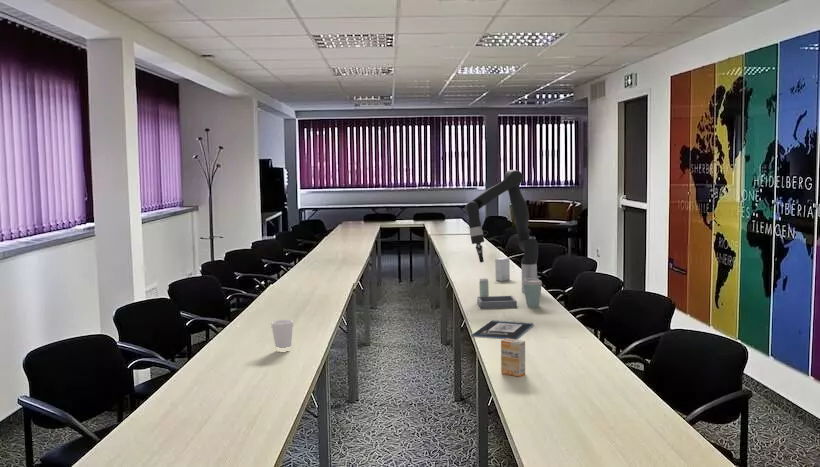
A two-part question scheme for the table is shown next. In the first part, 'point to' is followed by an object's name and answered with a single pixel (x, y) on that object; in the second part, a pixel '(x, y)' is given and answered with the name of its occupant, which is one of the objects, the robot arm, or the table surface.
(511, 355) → the supplement box
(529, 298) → the disposable coffee cup
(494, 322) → the sketchbook
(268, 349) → the table surface
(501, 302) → the tray
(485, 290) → the shaker
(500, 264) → the skincare box
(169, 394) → the table surface
